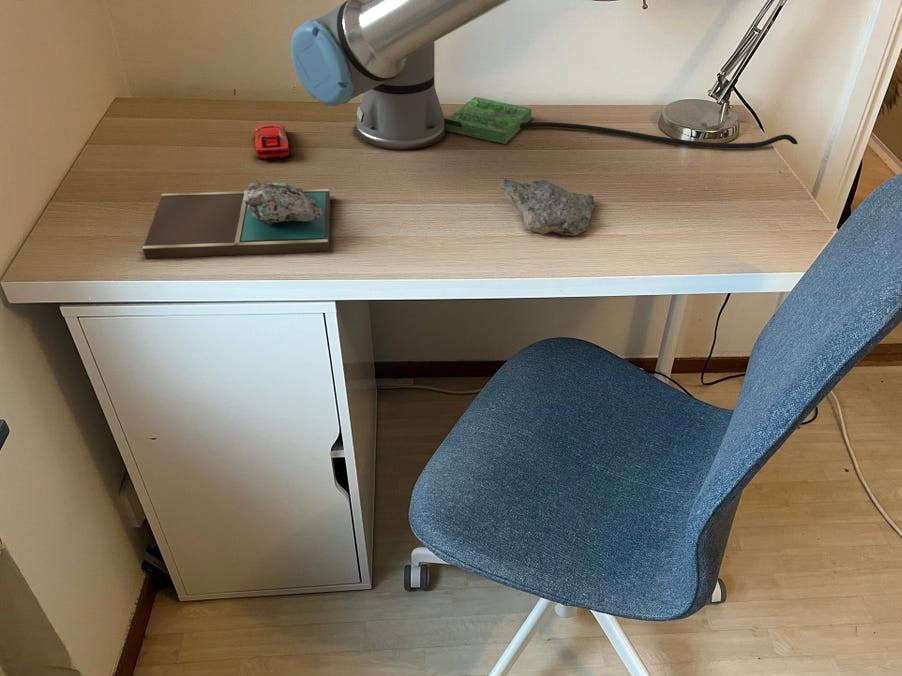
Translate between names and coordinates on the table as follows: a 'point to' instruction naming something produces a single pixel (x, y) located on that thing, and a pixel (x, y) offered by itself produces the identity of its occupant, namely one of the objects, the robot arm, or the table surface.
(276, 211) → the mineral specimen
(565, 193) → the rock
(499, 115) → the marbled green block
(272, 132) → the toy car
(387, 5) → the robot arm
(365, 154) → the table surface
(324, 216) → the board
